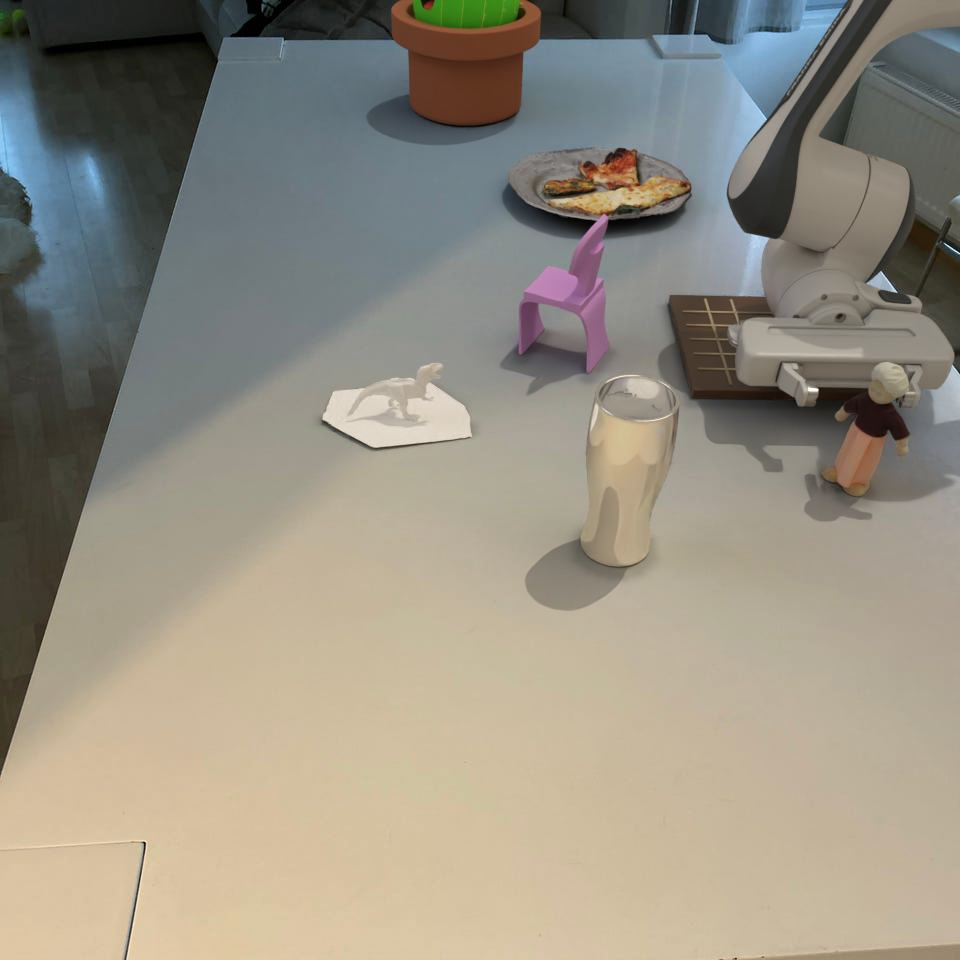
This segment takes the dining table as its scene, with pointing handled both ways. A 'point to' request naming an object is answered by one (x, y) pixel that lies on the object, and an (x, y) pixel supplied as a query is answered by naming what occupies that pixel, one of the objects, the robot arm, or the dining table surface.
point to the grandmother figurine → (870, 429)
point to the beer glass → (627, 464)
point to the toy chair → (571, 295)
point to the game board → (725, 348)
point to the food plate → (600, 183)
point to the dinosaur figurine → (399, 411)
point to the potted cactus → (465, 56)
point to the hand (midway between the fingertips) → (860, 401)
